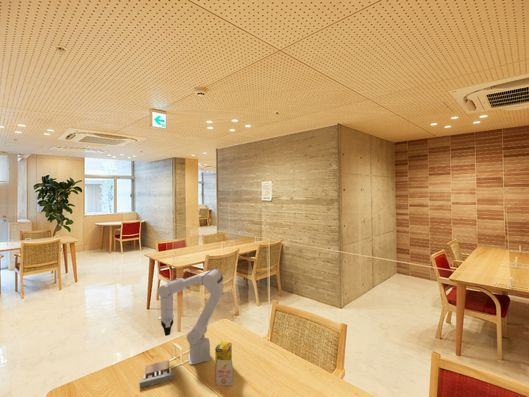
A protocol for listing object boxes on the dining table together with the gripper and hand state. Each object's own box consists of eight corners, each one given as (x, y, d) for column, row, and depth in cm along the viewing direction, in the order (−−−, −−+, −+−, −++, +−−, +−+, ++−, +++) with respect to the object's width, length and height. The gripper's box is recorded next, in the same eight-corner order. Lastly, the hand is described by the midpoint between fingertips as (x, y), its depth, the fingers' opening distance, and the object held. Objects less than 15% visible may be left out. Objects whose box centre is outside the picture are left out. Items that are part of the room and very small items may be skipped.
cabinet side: (174, 372, 122) (174, 367, 122) (175, 378, 118) (175, 373, 118) (140, 380, 117) (139, 375, 117) (139, 388, 113) (139, 382, 113)
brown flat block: (168, 365, 127) (168, 360, 127) (170, 377, 119) (169, 371, 119) (145, 371, 123) (145, 365, 123) (145, 383, 115) (144, 378, 115)
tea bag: (217, 379, 118) (217, 356, 117) (233, 380, 117) (232, 357, 116) (215, 385, 114) (215, 362, 113) (231, 386, 113) (231, 363, 113)
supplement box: (228, 373, 121) (227, 349, 120) (215, 372, 122) (214, 348, 122) (232, 365, 127) (232, 342, 126) (220, 363, 128) (219, 340, 127)
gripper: (157, 303, 139) (158, 329, 140) (158, 315, 126) (159, 344, 126) (172, 300, 142) (172, 326, 143) (174, 312, 129) (175, 341, 129)
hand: (167, 334), depth 135 cm, fingers closed
